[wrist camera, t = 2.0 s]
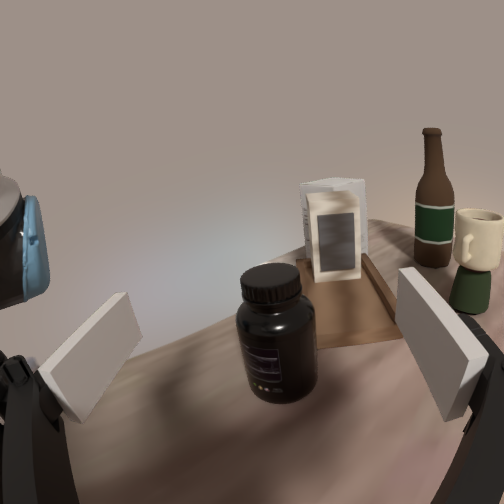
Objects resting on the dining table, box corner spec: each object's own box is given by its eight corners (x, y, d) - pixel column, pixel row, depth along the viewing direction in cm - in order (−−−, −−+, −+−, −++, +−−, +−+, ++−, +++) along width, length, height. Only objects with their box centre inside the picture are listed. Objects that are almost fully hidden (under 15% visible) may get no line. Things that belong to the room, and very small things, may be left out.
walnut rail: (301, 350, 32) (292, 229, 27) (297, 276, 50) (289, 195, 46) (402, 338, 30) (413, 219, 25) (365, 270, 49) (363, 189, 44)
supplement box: (336, 247, 62) (331, 176, 57) (369, 256, 54) (366, 178, 49) (304, 259, 57) (297, 182, 53) (338, 271, 50) (333, 184, 45)
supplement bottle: (274, 353, 32) (261, 253, 28) (329, 371, 28) (328, 262, 24) (235, 391, 27) (210, 283, 23) (294, 417, 23) (284, 301, 19)
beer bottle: (455, 268, 43) (457, 128, 35) (416, 268, 46) (414, 126, 38) (446, 253, 49) (445, 129, 42) (411, 253, 52) (407, 128, 45)
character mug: (463, 285, 37) (471, 203, 33) (499, 299, 31) (513, 212, 27) (430, 313, 33) (439, 216, 29) (472, 333, 27) (492, 228, 23)
